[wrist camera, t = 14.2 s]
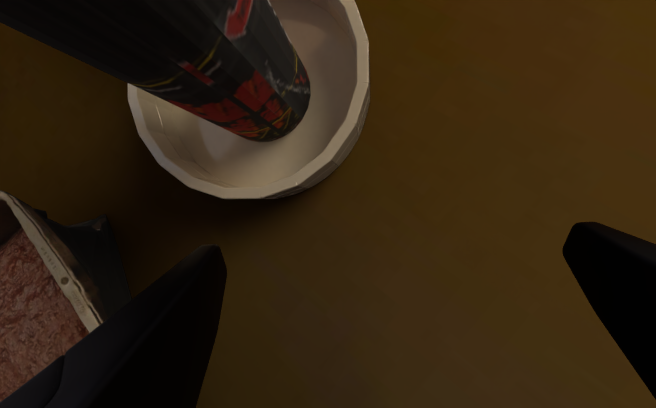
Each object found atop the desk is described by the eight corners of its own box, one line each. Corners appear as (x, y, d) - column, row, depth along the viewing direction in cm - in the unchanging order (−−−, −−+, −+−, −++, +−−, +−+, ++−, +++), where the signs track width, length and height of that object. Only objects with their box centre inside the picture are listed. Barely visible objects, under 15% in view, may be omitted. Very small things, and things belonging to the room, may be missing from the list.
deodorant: (201, 109, 20) (-335, -173, 5) (251, 27, 19) (-180, -577, 4) (274, 161, 19) (-91, 16, 4) (330, 77, 18) (136, -439, 4)
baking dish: (-2, 290, 25) (-250, 375, 16) (129, 158, 20) (-119, 163, 11) (101, 436, 25) (-86, 611, 16) (259, 339, 20) (126, 510, 10)
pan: (287, 241, 19) (268, 249, 16) (134, 124, 21) (86, 109, 18) (415, 59, 18) (424, 26, 15) (241, -51, 20) (212, -104, 16)
